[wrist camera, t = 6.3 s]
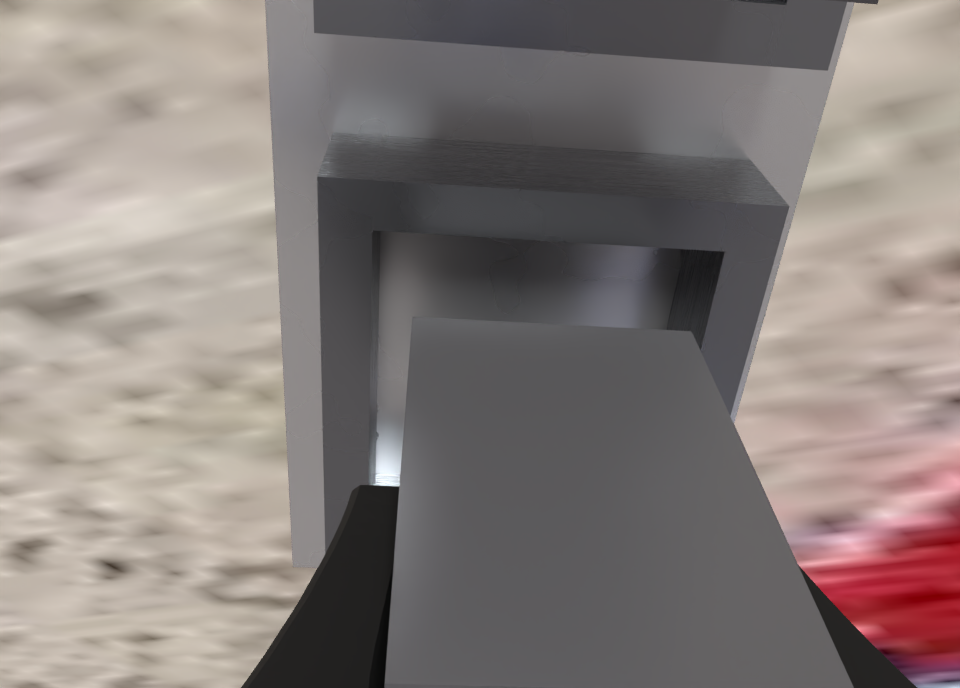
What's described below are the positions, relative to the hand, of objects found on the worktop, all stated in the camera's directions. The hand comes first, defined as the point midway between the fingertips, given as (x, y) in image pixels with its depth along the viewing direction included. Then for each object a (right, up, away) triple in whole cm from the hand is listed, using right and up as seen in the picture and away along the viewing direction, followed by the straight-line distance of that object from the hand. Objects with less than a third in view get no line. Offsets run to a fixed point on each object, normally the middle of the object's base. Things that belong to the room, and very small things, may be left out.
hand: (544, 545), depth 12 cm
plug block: (0, +1, +2) cm, 2 cm away
